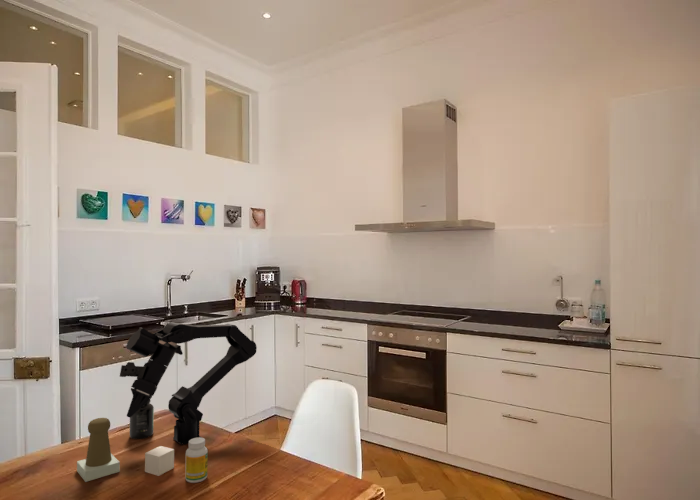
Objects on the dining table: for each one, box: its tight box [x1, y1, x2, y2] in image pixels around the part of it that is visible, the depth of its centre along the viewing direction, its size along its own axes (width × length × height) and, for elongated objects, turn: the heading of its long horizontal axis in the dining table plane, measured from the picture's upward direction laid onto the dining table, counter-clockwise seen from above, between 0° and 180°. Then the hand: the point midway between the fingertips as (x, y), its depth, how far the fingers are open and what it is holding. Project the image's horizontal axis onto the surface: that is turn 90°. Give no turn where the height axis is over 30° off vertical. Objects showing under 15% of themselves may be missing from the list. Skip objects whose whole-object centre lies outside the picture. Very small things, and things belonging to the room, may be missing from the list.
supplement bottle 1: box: [129, 399, 155, 440], centre depth 144 cm, size 7×7×12 cm
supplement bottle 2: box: [184, 437, 209, 484], centre depth 117 cm, size 5×5×10 cm
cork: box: [85, 417, 112, 467], centre depth 120 cm, size 6×6×11 cm
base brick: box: [76, 453, 121, 483], centre depth 120 cm, size 8×8×2 cm
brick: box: [144, 445, 175, 477], centre depth 121 cm, size 5×5×5 cm
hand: (129, 415), depth 129 cm, fingers open, 9 cm apart
